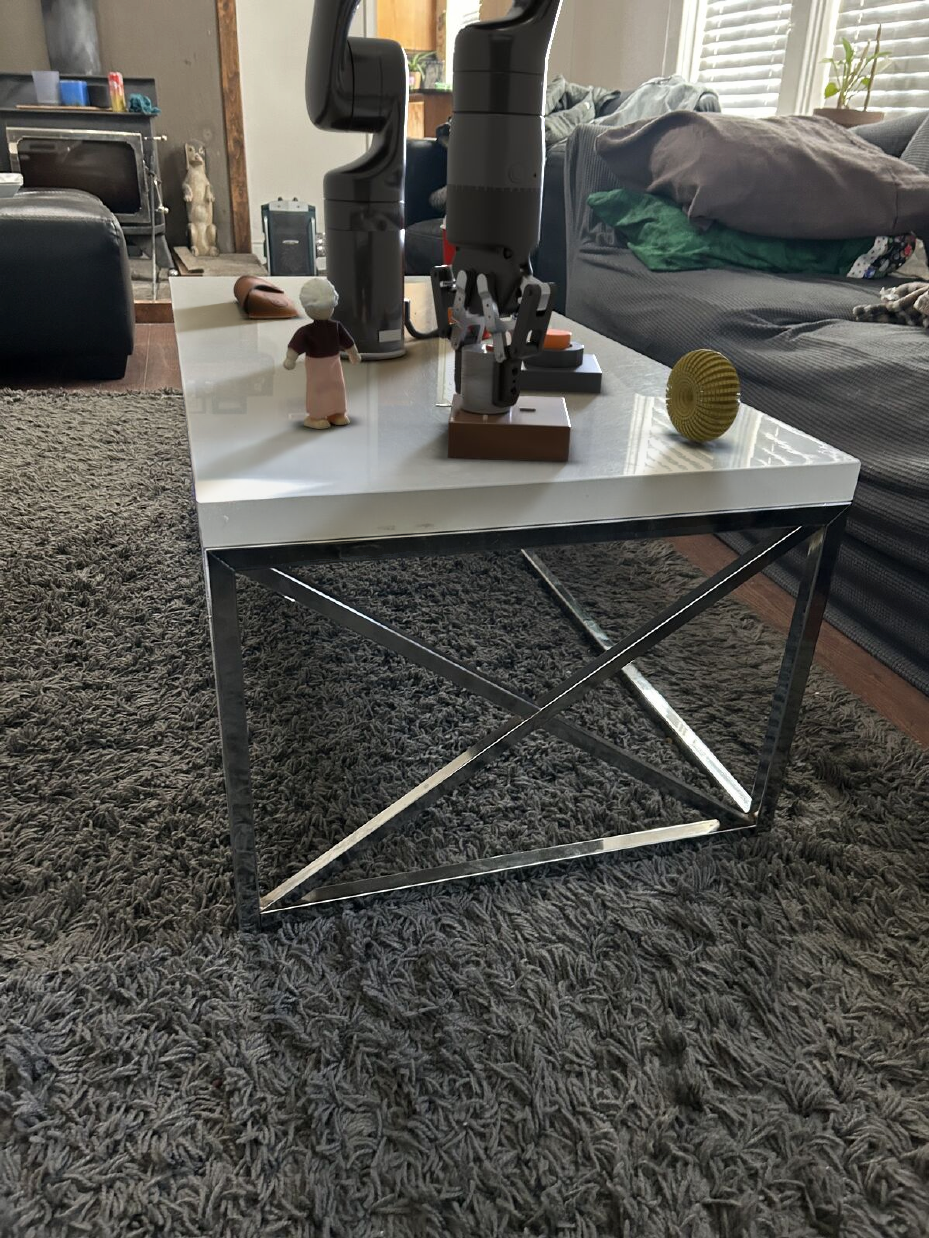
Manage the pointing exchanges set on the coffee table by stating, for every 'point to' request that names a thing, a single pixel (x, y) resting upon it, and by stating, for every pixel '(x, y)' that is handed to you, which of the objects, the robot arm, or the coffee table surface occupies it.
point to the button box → (561, 371)
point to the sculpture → (702, 395)
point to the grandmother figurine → (322, 355)
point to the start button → (557, 339)
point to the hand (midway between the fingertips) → (485, 398)
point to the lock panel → (511, 431)
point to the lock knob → (478, 379)
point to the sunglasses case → (262, 299)
